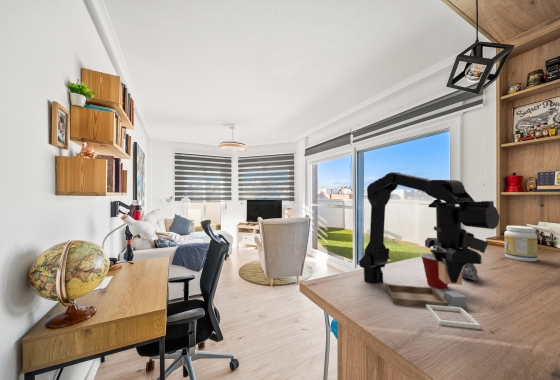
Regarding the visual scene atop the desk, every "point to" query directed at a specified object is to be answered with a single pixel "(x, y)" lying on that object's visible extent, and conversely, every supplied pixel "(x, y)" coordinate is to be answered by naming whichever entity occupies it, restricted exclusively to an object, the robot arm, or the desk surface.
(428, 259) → the plastic cup
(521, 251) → the supplement tub
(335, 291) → the desk surface
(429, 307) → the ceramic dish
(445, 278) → the terracotta block
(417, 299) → the walnut box
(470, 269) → the mineral rock
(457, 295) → the slate rubber block
